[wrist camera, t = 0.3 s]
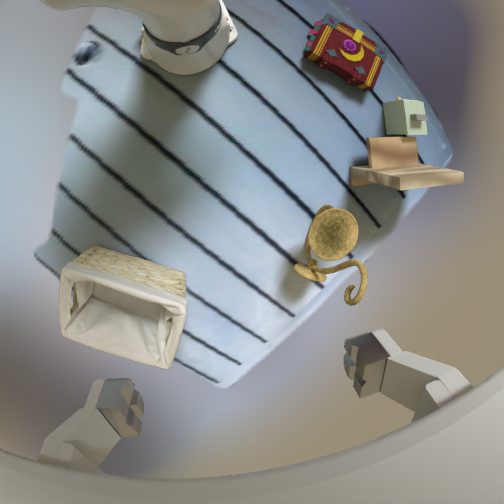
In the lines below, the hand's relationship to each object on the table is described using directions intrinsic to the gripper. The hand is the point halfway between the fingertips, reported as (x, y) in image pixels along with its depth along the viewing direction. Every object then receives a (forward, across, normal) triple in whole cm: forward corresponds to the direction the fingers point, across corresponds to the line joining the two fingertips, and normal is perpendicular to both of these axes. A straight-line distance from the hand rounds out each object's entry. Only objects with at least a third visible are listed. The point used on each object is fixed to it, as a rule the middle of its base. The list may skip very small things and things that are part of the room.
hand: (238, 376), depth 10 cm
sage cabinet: (+47, -40, -10) cm, 63 cm away
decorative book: (+48, -29, -25) cm, 61 cm away
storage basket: (+47, +22, +17) cm, 55 cm away
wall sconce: (+47, -17, +12) cm, 52 cm away
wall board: (+47, -35, -1) cm, 59 cm away
